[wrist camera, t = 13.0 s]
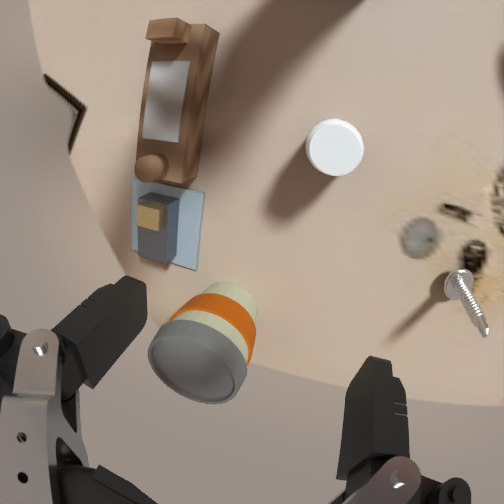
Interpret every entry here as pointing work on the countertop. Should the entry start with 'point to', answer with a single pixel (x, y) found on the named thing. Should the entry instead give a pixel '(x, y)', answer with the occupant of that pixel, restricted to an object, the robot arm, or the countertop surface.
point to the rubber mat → (187, 219)
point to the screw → (466, 297)
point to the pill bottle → (334, 147)
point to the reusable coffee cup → (207, 344)
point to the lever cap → (157, 226)
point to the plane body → (174, 99)
